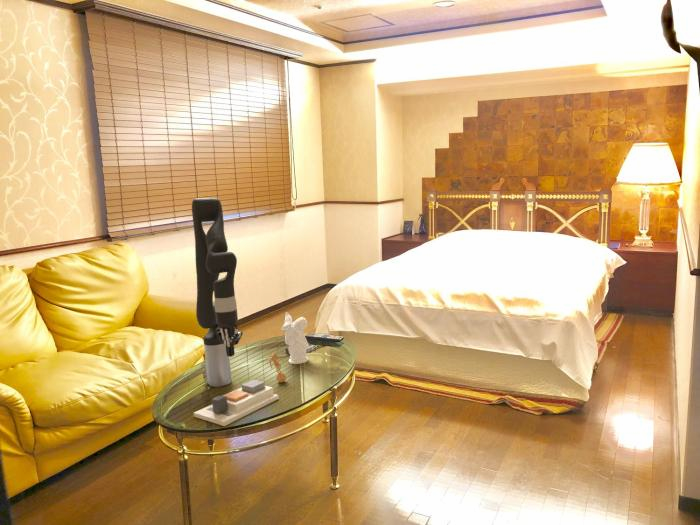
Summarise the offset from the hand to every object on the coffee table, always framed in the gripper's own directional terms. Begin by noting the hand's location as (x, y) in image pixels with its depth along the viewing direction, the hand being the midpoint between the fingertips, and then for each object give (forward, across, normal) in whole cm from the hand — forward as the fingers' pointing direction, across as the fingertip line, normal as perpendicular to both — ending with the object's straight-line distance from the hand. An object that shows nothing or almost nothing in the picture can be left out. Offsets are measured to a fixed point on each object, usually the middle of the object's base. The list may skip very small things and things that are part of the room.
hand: (230, 355), depth 204 cm
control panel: (+19, -1, 0) cm, 19 cm away
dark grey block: (+18, -1, +8) cm, 19 cm away
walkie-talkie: (+20, +23, -63) cm, 70 cm away
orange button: (+18, -1, 0) cm, 18 cm away
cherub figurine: (+20, +15, -47) cm, 53 cm away
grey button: (+16, -1, -9) cm, 19 cm away
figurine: (+20, +4, -26) cm, 33 cm away
